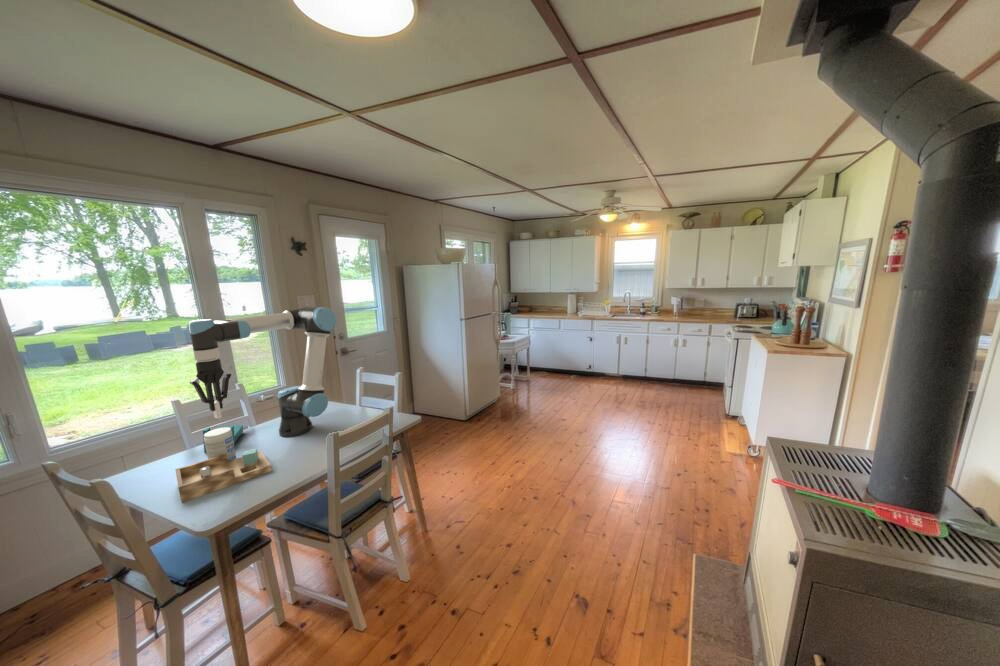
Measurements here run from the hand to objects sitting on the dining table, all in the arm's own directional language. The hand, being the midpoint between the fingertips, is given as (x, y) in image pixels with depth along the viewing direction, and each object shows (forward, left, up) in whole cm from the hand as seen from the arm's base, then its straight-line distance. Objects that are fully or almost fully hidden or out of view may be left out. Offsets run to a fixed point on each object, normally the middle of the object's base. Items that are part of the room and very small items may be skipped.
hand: (218, 417), depth 142 cm
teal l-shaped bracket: (-4, -38, -25) cm, 46 cm away
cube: (-8, +1, -22) cm, 23 cm away
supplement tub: (0, -12, -25) cm, 28 cm away
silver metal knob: (+7, +8, -22) cm, 24 cm away
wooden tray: (+1, +2, -24) cm, 25 cm away
